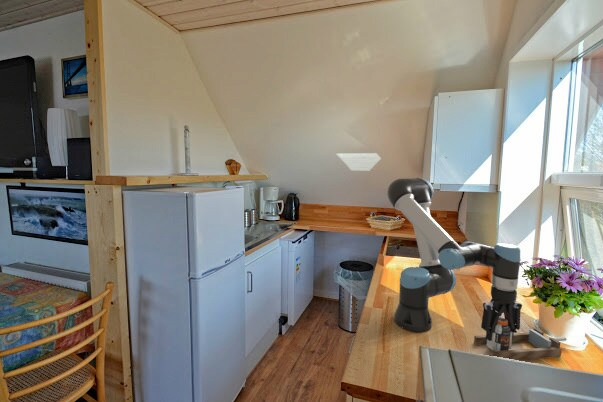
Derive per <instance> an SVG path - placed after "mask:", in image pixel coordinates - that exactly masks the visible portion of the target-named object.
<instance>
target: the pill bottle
mask: <svg viewBox="0 0 603 402" xmlns="http://www.w3.org/2000/svg"><path fill="white" fill-rule="evenodd" d="M510 331H511V329H510V327H509V326H508V321H507V320H506V319H505V317H502V316H500V317H499V319H498V322H497V324H496V327H495V330H494V333H496V335H495V346H494V350H493V351H506V350H510V349H509V342H510Z"/></svg>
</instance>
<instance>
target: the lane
mask: <svg viewBox="0 0 603 402" xmlns="http://www.w3.org/2000/svg"><path fill="white" fill-rule="evenodd" d="M533 330H534V331H536V332H538V333H539V334H541V335H543V336H544V335H545V334H544V333H545V332H543V331H542V330H540V329H538V328H537V327H534V328H533ZM548 338H549V340H551V347H547V348H537V347H536V348H523V349H521V348H520V349H509V350H506V351H495V350H492V351H493V352H492V357H493V356H497V357H503V358H509V359H515V360H514V361H519V360H521V361H522V360H524V361H525V360H535V359H548V358H549V357H550V358H560V356H562V350H563V349H562V348H561V341H557V340H555V339H554V338H555V337H548ZM528 340H529V331H528V332H516V333H514V335H513V339H512V343H511V344H513V343H529V342H528ZM473 344H474V345H475V346H482V345H486V346H487V339H486V334H483V335H474V339H473Z"/></svg>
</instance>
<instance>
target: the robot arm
mask: <svg viewBox="0 0 603 402" xmlns="http://www.w3.org/2000/svg"><path fill="white" fill-rule="evenodd" d="M434 190H435V189H434V187H433V185H432V184H431V182H430V181H429V180H427V179H426V178H419V177H416V178H415V177H413V178H398V179H395V180H393V181H391V183H390V184H389V185H388V188H387V193H386V194H387V195H386V196H387V199H388V201H389V203H390V204H391V205H392V207H393V208H394V209H395V210H396V211H400V212H401V213H402V214H403V216H404V217H405V218H406V219H407V220H408V221H409V222H410V223H411V224H412V225H413V226H412V227H413V230H414V236H415V240H416V244H417V249H418V253H419V256H420V263H419V264H418V266H415V267H414V266H410V267H409V266H408V267H406V268H404V269H403V270H402V271H401V273H400V277H399V300H398V305H397V307H396V310H395V312H394V315H393V316H394V318H393V320H395V321H394V322H395V324H396V323H397V324H398V325H397V324H396V325H397V326H399V327H400V326H401V327H400V328H402V327H403V328H402V329H404V328H405V329H404V330H406V329H407V330H406V331H409V330H410V332H413V331H414V333H425V332H428V331H430V330H431V329H432V324H433V323H432V321H433V320H432V317H431V313H430V311H429V298H433V297H437V296H440V295H445V294H447V293H450V292H452V291H453V290H454V289H455V286H456V284H457V275H456V274H455V271H454V270H460V269H462V268H467V267H471V266H475V265H482V266H485V267H488V268H492V271H491V272H492V274H491V283H490V284H491V286H490V296H491V300H490V302H488V303H487V302H482V307H483V311H482V318H481V326H480V327H481V329H482V330H484V332H486V333H485V335H486V339H487V344H486V346H487V348H489V349H490V350H491V351H495V350H494V346H495V335H496V333H494V330H495V327H496V324H497V322H498V319H499V317H502V315H503V318H505V319H506V320H507V321H508V326H509V327H510V329H511V331H510V342H509V350H512V344H513V343H512V339H513V335H514V333H518V331H519V330H520V329H521V311H522V307H523V304H522V303H520V302H519V301H517V298H518V297H517V295H518V291H517V289H518V283H519V273H520V265H521V264H520V263H521V261H522V259H521V248H520V247H519V246H518V245H515V244H511V243H504V242H501V243H500V242H499V243H496V244H494V247H493V246H489V245H486V244H482V243H479V242H475V241H463V242H462V244H458V242H456V240H454V238H452V236H450V235H449V233H448V232H447V231H446V230H445V229H444V228H442V226H441V225H440V224H439V223H438V222H437V221H436V220H435V219H434V218H433V217H432V215H431V211H430V207H431V205H432V198H433V196H434V193H435V191H434Z"/></svg>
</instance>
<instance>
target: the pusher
mask: <svg viewBox="0 0 603 402" xmlns="http://www.w3.org/2000/svg"><path fill="white" fill-rule="evenodd" d="M533 329H534V328H533ZM533 329H532V328H531V329H530V328H529V331H528V332H529V340H528V342H527V343H529V344H531V345H532V346H534V347H536V348H547V347H551V340H549V338H550V337H546V336H544V335H541V334H539V333H538V332H536V331H534V330H533ZM553 338H554V339H555V340H557V341H559V342H564V341H565V342H566V341H567V340H568V339H567V337H565V336H560V337H559V336H558V337H553Z"/></svg>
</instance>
